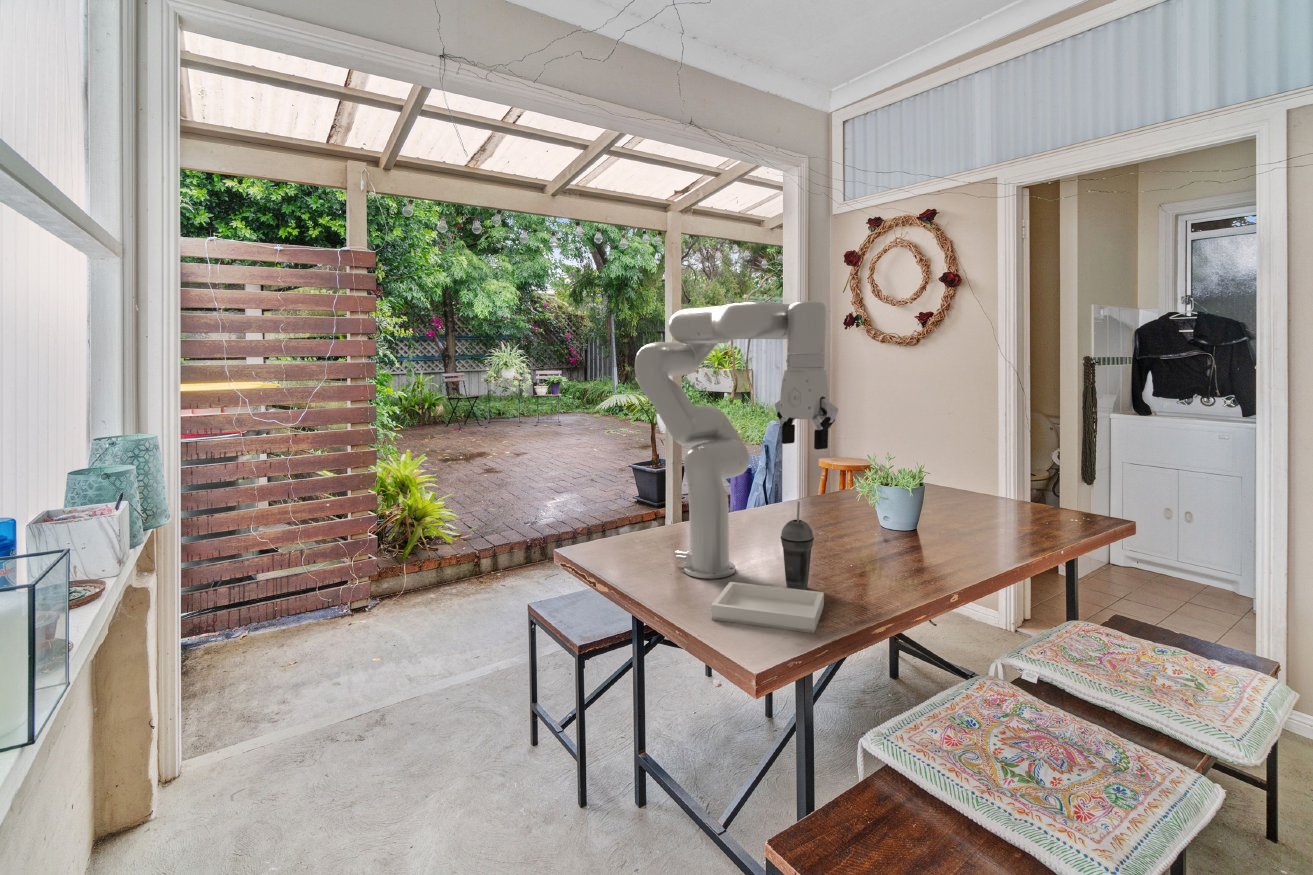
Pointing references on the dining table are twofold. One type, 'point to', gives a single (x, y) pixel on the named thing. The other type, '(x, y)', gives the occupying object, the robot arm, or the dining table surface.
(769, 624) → the tray
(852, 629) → the dining table surface
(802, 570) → the beverage cup
